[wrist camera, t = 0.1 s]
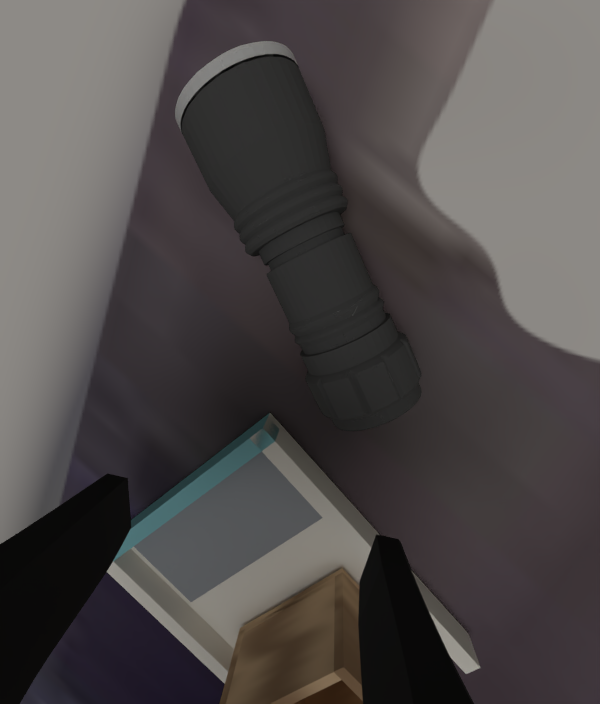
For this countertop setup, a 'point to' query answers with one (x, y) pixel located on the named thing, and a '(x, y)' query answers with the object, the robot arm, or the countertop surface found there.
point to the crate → (301, 650)
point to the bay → (250, 546)
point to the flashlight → (298, 228)
